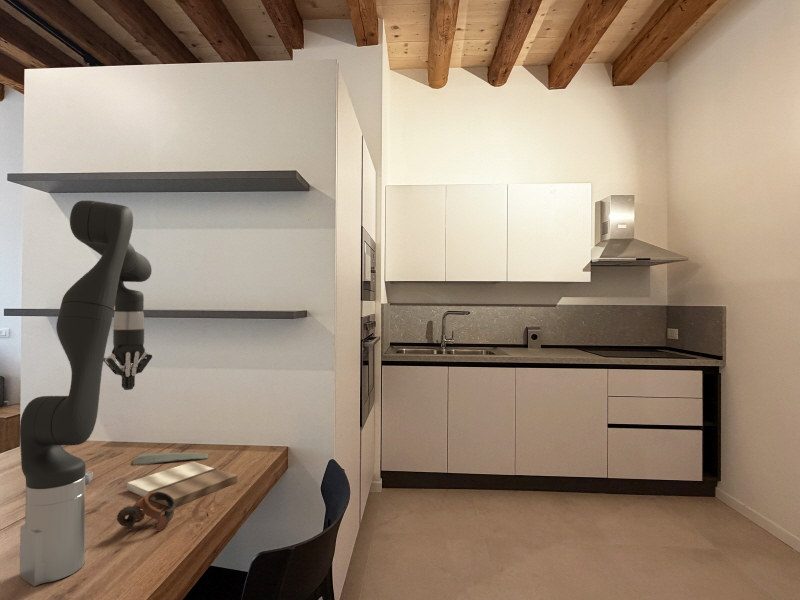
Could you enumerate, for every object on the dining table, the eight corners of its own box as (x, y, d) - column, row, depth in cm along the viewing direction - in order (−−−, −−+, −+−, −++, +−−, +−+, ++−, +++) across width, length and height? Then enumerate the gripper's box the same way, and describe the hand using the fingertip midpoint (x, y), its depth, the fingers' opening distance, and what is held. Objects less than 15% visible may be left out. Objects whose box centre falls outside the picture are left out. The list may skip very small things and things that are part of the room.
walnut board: (172, 508, 116) (172, 499, 116) (149, 499, 121) (149, 491, 121) (237, 482, 133) (237, 474, 133) (214, 475, 139) (214, 468, 139)
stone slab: (139, 461, 155) (131, 467, 146) (139, 452, 156) (131, 458, 146) (210, 456, 161) (207, 462, 152) (211, 448, 162) (208, 453, 152)
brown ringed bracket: (151, 514, 114) (168, 486, 114) (168, 542, 109) (186, 512, 109) (102, 521, 104) (120, 489, 104) (118, 552, 99) (137, 519, 99)
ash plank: (148, 499, 122) (148, 491, 122) (127, 489, 127) (127, 482, 127) (213, 475, 139) (213, 468, 139) (192, 467, 144) (192, 461, 144)
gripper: (111, 329, 123) (110, 394, 123) (159, 327, 134) (158, 387, 134) (96, 328, 127) (95, 391, 127) (144, 326, 138) (143, 384, 138)
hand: (128, 389), depth 130 cm, fingers closed
